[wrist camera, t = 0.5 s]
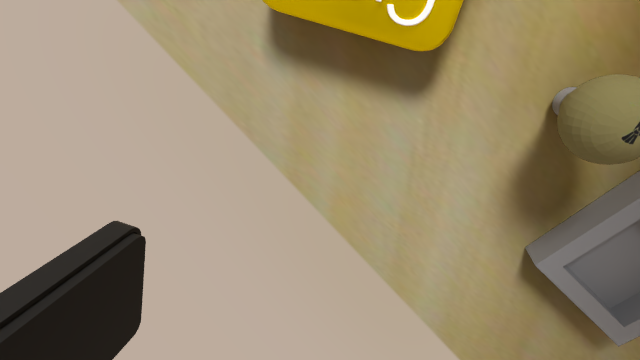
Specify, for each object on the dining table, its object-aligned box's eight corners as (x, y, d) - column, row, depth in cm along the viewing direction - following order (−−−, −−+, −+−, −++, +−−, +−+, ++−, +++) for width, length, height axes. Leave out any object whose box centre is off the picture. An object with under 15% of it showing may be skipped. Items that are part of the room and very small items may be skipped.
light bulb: (597, 136, 31) (677, 179, 22) (523, 135, 32) (569, 175, 23) (613, 64, 29) (709, 79, 20) (533, 66, 30) (589, 80, 21)
